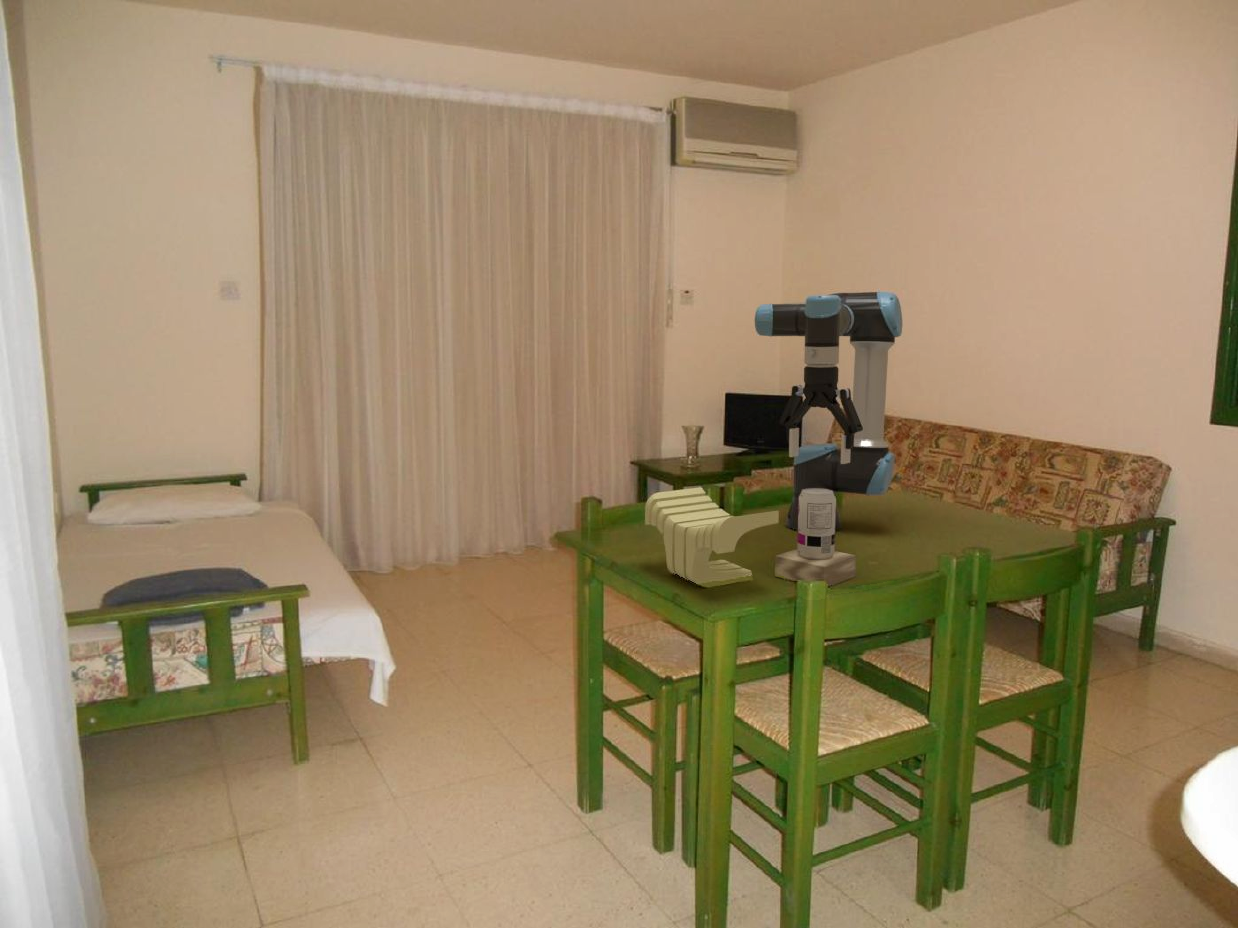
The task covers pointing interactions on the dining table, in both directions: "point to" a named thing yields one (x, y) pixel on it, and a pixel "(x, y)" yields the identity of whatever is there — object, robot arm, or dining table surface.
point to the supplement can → (816, 523)
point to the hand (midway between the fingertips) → (818, 459)
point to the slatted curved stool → (700, 533)
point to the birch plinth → (816, 567)
